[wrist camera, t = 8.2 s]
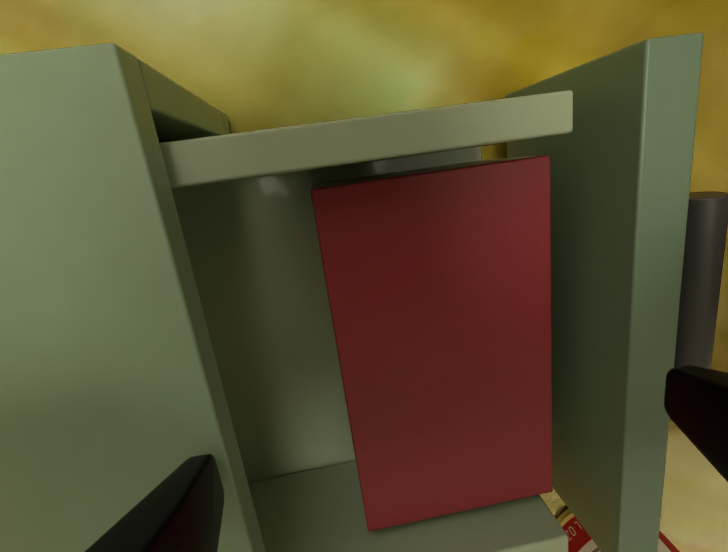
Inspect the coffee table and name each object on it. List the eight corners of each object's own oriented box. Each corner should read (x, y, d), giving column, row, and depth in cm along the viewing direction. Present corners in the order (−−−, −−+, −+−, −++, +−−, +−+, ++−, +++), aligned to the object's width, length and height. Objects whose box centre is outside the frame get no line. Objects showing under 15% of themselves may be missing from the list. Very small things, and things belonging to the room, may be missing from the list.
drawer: (648, 76, 13) (885, 9, 8) (628, 416, 17) (781, 535, 11) (115, 145, 12) (-57, 121, 6) (218, 499, 16) (165, 682, 10)
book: (499, 419, 15) (553, 492, 12) (355, 448, 14) (368, 532, 11) (486, 159, 12) (551, 154, 9) (311, 184, 12) (310, 189, 9)
